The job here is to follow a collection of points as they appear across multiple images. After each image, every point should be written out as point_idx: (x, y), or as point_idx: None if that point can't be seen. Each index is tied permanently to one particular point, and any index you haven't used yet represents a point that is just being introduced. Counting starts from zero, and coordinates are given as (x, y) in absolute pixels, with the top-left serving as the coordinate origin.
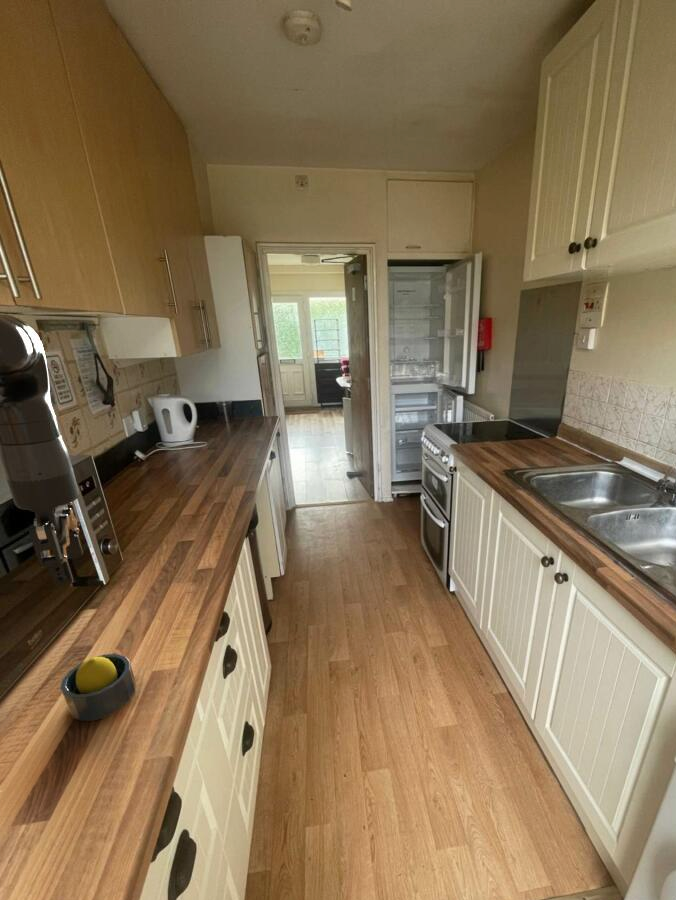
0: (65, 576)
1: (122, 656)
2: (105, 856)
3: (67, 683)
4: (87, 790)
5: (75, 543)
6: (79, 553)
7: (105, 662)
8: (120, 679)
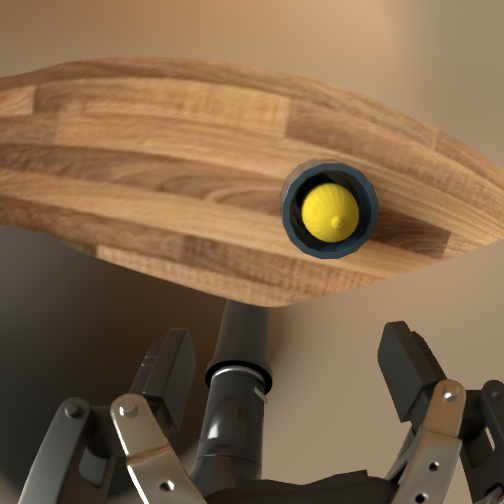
0: (425, 348)
1: (301, 176)
2: (492, 186)
3: (328, 251)
4: (442, 204)
5: (174, 379)
6: (185, 341)
7: (339, 200)
8: (361, 175)
